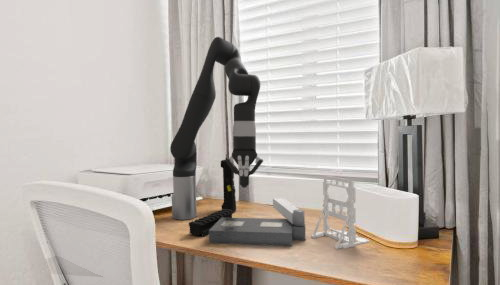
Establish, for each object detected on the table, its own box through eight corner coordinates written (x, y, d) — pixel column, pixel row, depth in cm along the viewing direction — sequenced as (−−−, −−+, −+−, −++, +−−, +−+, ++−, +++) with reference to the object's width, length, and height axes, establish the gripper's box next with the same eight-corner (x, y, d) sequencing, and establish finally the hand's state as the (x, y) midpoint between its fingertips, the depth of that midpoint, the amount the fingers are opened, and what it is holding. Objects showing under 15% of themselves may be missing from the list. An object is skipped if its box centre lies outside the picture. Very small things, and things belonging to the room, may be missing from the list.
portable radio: (235, 213, 142) (234, 155, 141) (221, 213, 142) (220, 155, 141) (236, 209, 150) (235, 154, 149) (223, 209, 150) (221, 154, 149)
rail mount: (220, 221, 132) (220, 208, 131) (234, 222, 128) (234, 210, 128) (185, 236, 113) (185, 222, 113) (201, 239, 110) (200, 224, 109)
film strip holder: (373, 242, 102) (373, 178, 102) (339, 250, 96) (338, 181, 96) (341, 230, 115) (341, 173, 115) (309, 236, 109) (308, 176, 109)
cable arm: (306, 225, 106) (306, 211, 106) (294, 226, 106) (294, 212, 106) (282, 206, 134) (282, 195, 134) (273, 207, 133) (272, 196, 133)
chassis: (209, 243, 105) (208, 229, 105) (221, 228, 120) (221, 216, 120) (305, 246, 100) (305, 232, 100) (305, 230, 116) (305, 218, 115)
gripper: (265, 134, 112) (265, 185, 113) (227, 134, 115) (227, 184, 115) (262, 135, 105) (262, 189, 106) (222, 135, 107) (222, 188, 108)
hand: (244, 187), depth 110 cm, fingers closed
